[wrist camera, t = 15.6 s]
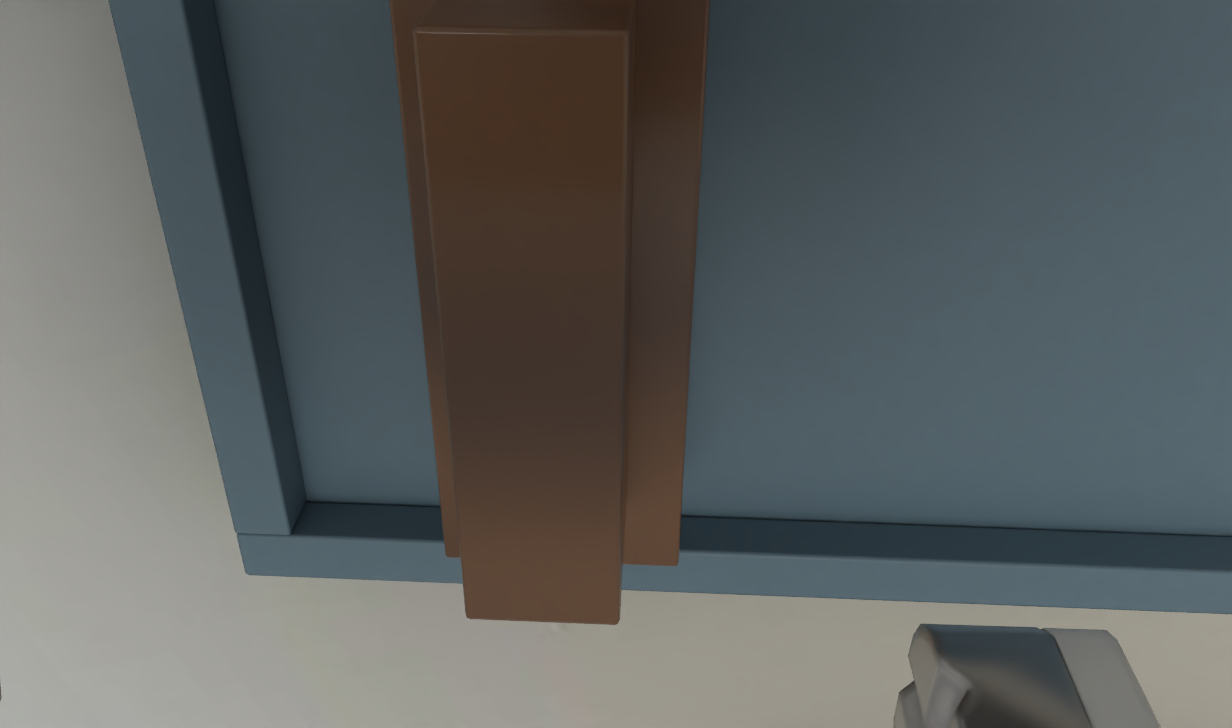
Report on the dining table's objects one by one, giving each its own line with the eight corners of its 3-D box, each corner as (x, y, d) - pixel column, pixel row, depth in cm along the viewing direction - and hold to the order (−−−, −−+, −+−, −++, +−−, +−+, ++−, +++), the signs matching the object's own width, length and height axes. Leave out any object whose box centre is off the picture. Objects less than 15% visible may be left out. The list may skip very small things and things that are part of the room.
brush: (420, -171, 16) (299, -127, 10) (710, -166, 15) (731, -121, 10) (471, 462, 22) (410, 684, 17) (677, 470, 22) (680, 696, 16)
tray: (92, -379, 15) (12, -395, 13) (1616, -363, 14) (1759, -379, 13) (277, 511, 24) (244, 576, 22) (1227, 547, 23) (1276, 617, 21)
